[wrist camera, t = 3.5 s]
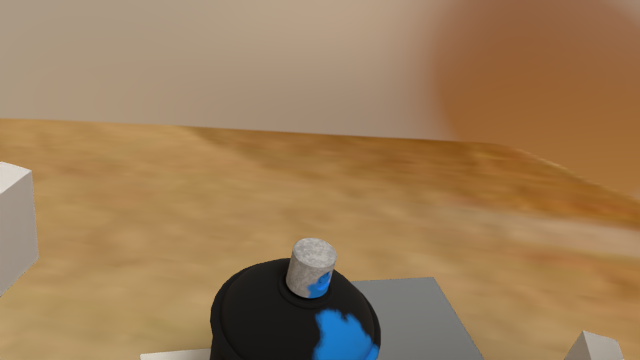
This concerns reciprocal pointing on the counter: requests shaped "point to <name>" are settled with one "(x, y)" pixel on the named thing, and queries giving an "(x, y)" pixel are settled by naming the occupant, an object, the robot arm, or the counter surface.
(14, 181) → the robot arm
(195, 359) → the white open tray
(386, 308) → the pad
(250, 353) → the aerosol can
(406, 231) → the counter surface
